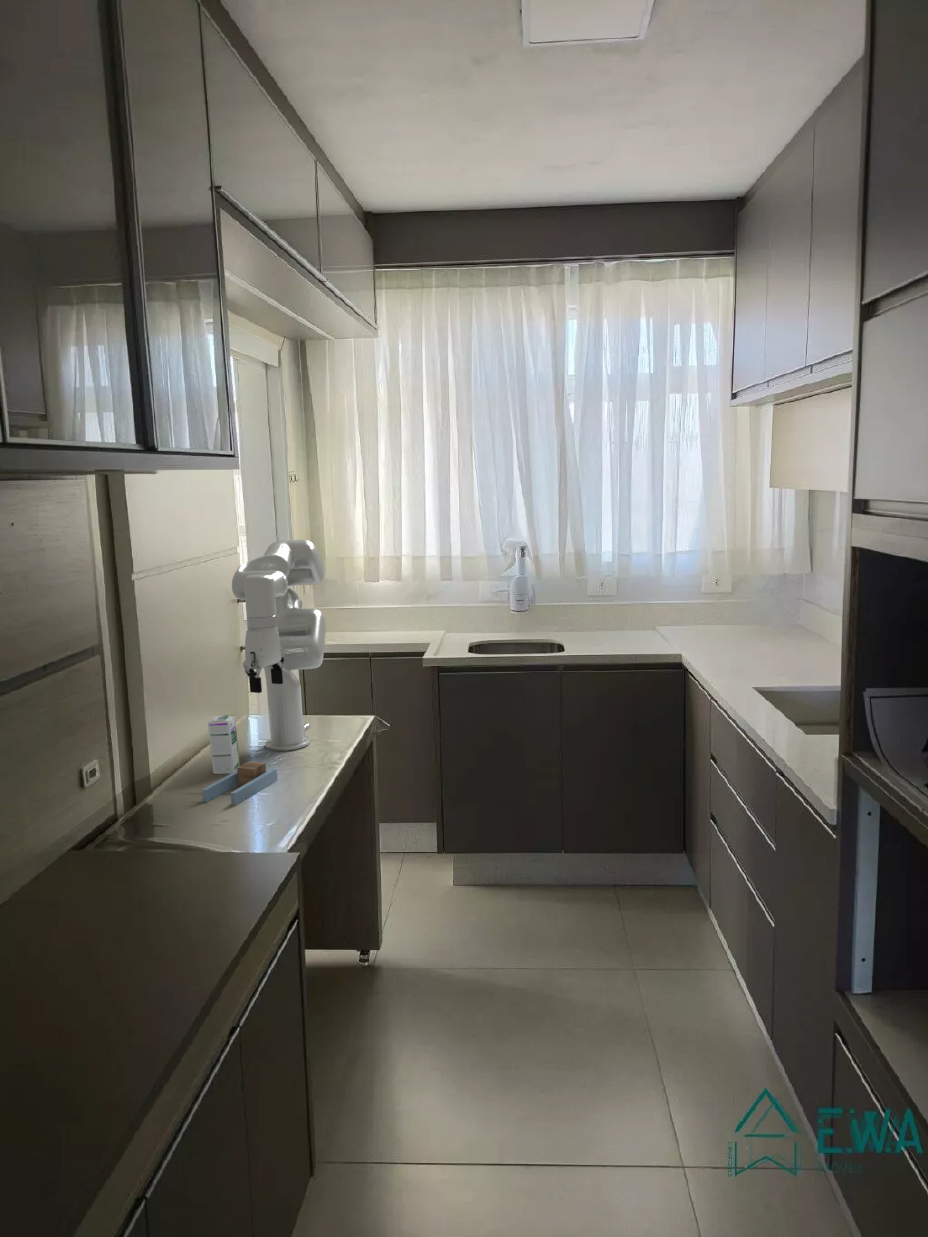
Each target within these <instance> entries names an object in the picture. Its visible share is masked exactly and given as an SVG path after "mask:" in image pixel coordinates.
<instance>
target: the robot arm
mask: <svg viewBox="0 0 928 1237" xmlns="http://www.w3.org/2000/svg"><path fill="white" fill-rule="evenodd" d="M324 573H325V570H324V565H323V561H322V558H321V556H320V553H319V551H318V549H317V546H316V545H315V544H314V543H313V542H312V541H310V540H308V539H292V540H291V539H290V540H287V539H286V540H278V541H273V542H272V543H271V544H269V545H268V547H267V549H266V550H265V552H264V554H263V555H262V556H259V557H257V558H255V559H252V560H249V561H247V562H243V563H242V564H240V565H239V566H238V568H237V569H236V571H235V572H234V574H233V576H232V580H231V590H232V594H233V595H234V596H235V598H237V599H238V600H241V601H245V611H246V612H245V613H246V626H247V627H246V628H247V629H246V631H245V638H244V640H245V641H244V653H245V654H244V655H245V657H244V658H245V660H244V661H243V663H242V666H243V669H244V673H245V674H246V675H247V676H246V677H247V678H248V680H249V692H250V693H253V694H254V693H255V694H261V693H263V688H262V678H261V676H260V674H261V672H262V669H264V675H265V683H266V684H265V685H266V698H267V708H268V722H269V734H270V736H269V737H270V738H269V739H267V740H266V741H265V743H264V744H265V747H266V749H269V750H270V749H271V750H272V751H279V752H284V751H285V752H286V751H293V750H298V749H302V748H304V747H307V746H308V745H309V744H310V742H311V739H310V737H309V736H307V735H306V734H305V733H306V731H307V732H308V730H310V729H311V724H310V723H305V724H304V719H303V718H304V716H303V704H302V700H303V699H302V687H301V683H300V680H299V678H298V677H297V676H296V675H295V674H294V672H293V671H294V670H295V671H296V670H297V671H298V670H313V669H317V668H319V667H321V666H322V664H323V661H324V655H325V645H326V644H325V643H326V627H327V626H326V619H325V618H326V617H325V615H324V613H323V612H322V611H321V610H320V609H317V608H303V601H302V599H301V597H300V596H299V595H298V594H297V593H296V592H295V591H294V590H293V589H292V588H290V587H289V586H313V585H317V584H320V583H321V582H322V581H323V578H324Z"/></svg>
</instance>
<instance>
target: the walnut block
mask: <svg viewBox="0 0 928 1237" xmlns="http://www.w3.org/2000/svg"><path fill="white" fill-rule="evenodd" d="M266 766H267V765H266V762H260V761H251V760H250V761H247V762H245V763H243V764H240V766H239V767H237V770H236V771H238V783H239V784H238V787H239V788H240V787H242V786H243V785H245V784H247V783H248V782H250V781H252V780H254V779H255V778H257V777H259V776H260V775H262V774H264V773H266V772H267V767H266Z"/></svg>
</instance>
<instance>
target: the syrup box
mask: <svg viewBox="0 0 928 1237" xmlns="http://www.w3.org/2000/svg"><path fill="white" fill-rule="evenodd" d="M236 723H237V722H236V715H234V714H220V715H214V716H213V718H211V719H210V720H208V721H207V726H208V727H207V728H208V737H209V738H208V739H209V746H210V755H211V763H212V772H213V773H212V774H214V775H230V774H231V773H233V772H235V771H237V767H239V766H241V762H240V752H239V743H238V735H237V724H236Z"/></svg>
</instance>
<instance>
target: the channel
mask: <svg viewBox="0 0 928 1237" xmlns="http://www.w3.org/2000/svg"><path fill="white" fill-rule="evenodd" d="M276 780H277V781H278V769H277V768H271V769H269V770H266V773H264V774H262V775H260V776H259V777H257V778H255V779H254V780H252V781H250V782H248V783H247V784H245V785H243V786H242V787H240V786H239V783H238V771H237V770H236V771H235V772H233V773H231V774H227V775H226V776H224V777H222V778H221V779H219V780H217V781H215V782H213V783H212V784H210V785H208V786H206V787H204V788H202V789H201V794H202V802H203V803H208V802H209V801H211V800H213V799H215V798H216V797H217V798H218V796H221V795H222V794H224V793H225V792H227V791H229V790H231V789H232V788H234V787H236V786H237V785H238V786H239V787H238V788H237V789H235V790H233V791H231V792H230V800H231V801H230V802H231V806H237V805H239V804H241V803H242V802H244V801H245V800H244V799H246V798H247V799H249V798H250V797H249V796H251V797H252V796H253V795H255V794H257V793H259V792H260V791H262V790H263V789H262V788H264V787H265V788H267V787H269V786H270V785H272V784H274V783H275V782H277V781H276ZM274 781H275V782H274ZM273 782H274V783H273ZM271 783H272V784H271ZM268 785H269V786H268ZM265 788H264V789H265ZM261 789H262V790H261ZM259 790H260V791H259ZM258 791H259V792H258ZM248 797H249V798H248ZM247 799H246V800H247ZM243 800H244V801H243ZM240 802H241V803H240Z"/></svg>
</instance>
